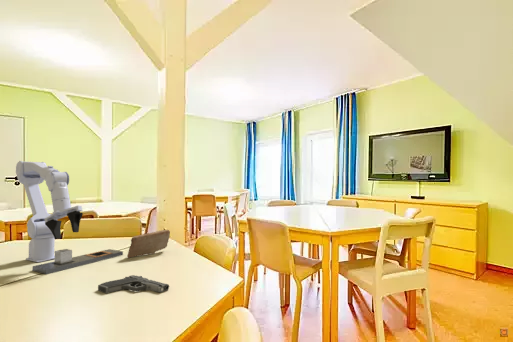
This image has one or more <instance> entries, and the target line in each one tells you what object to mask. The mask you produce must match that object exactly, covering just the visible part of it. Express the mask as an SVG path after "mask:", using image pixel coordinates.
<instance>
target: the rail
mask: <svg viewBox="0 0 513 342" xmlns="http://www.w3.org/2000/svg"><path fill="white" fill-rule="evenodd" d="M123 255H124V251H121V250H116V249H110V248H109V249H104V250H100V251H95V252H92V253H87V254H86V253H85V254H82V255H77V256H72V263H68V264H63V265H56V264H55V260H54V261H50V262H46V263H41V264H37V265H33V266H32V269H31V270H32V272H37V273H40V274H44V275H49V274H53V273H57V272H60V271H65V270H68V269H73V268H76V267H77V268H78V267H80V266H84V265H89V264H93V263H96V262H101V261H105V260H108V259H112V258H116V257H121V256H123Z"/></svg>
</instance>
